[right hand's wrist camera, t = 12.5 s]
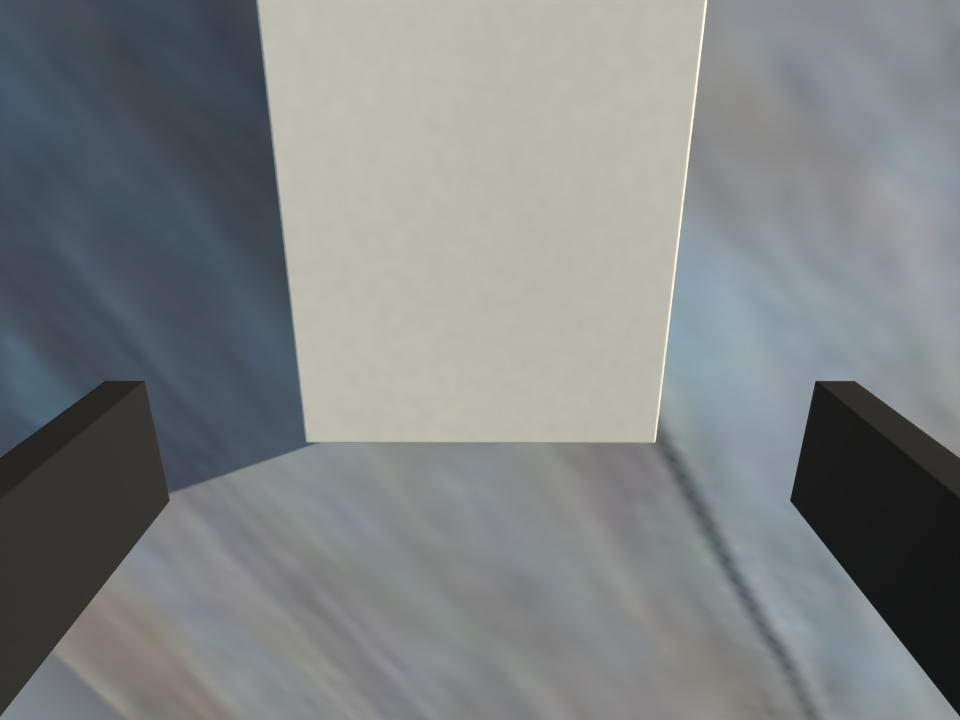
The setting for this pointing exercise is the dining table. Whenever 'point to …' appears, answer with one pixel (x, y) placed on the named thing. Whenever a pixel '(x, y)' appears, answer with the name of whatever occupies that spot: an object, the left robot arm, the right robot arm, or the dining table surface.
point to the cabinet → (481, 212)
